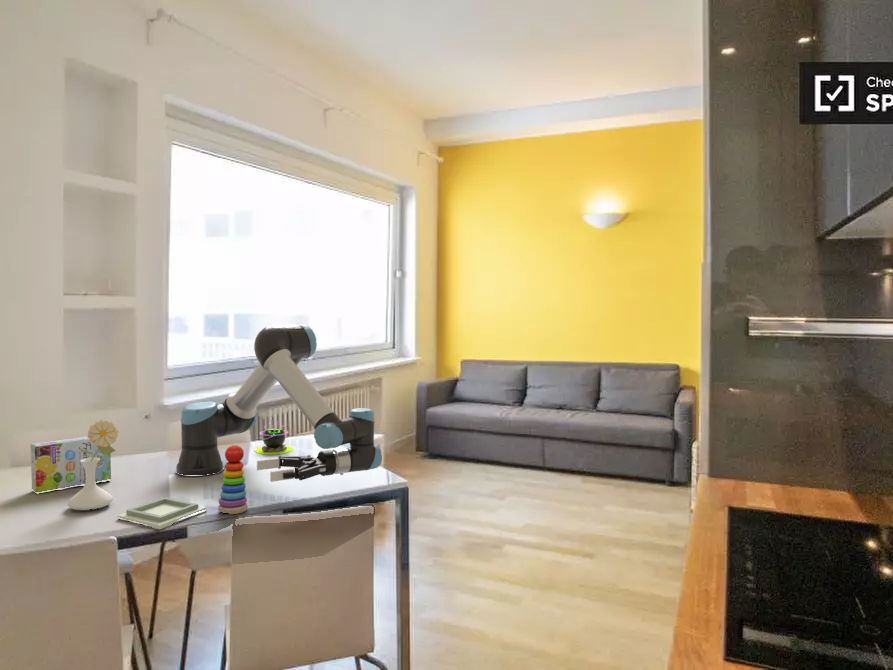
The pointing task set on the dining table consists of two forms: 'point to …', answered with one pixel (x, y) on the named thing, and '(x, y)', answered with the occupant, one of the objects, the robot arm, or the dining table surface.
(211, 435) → the robot arm
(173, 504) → the base plate
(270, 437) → the toy cauldron
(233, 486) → the stacking toy
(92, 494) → the flower in vase
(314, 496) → the dining table surface
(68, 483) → the snack box
